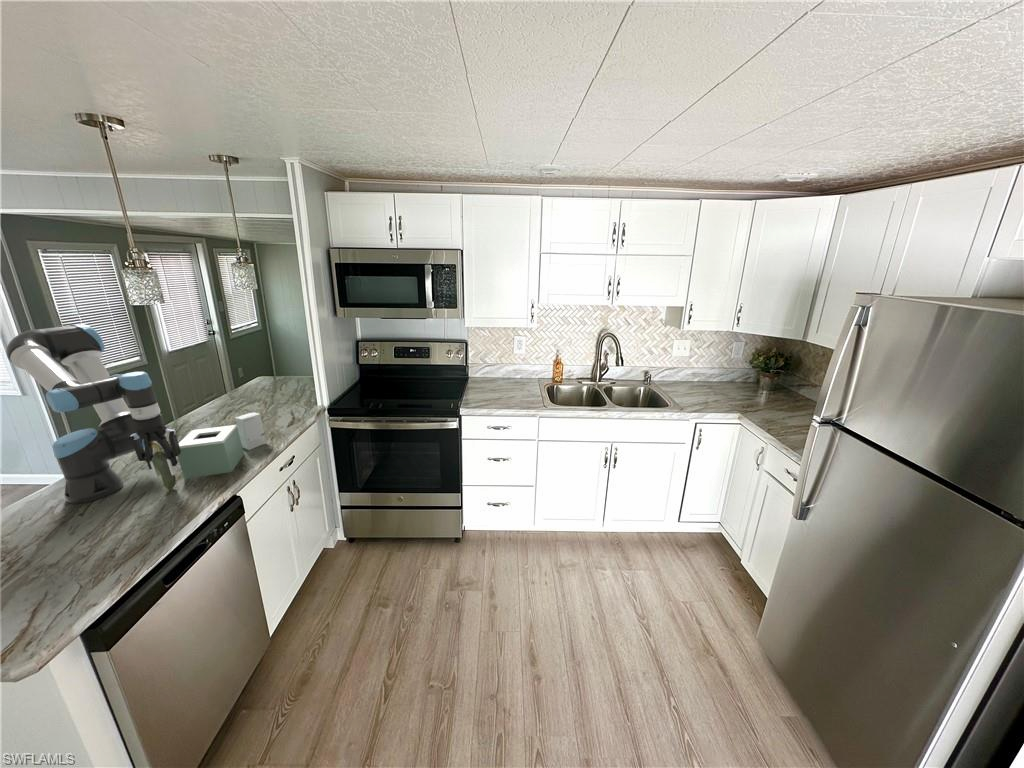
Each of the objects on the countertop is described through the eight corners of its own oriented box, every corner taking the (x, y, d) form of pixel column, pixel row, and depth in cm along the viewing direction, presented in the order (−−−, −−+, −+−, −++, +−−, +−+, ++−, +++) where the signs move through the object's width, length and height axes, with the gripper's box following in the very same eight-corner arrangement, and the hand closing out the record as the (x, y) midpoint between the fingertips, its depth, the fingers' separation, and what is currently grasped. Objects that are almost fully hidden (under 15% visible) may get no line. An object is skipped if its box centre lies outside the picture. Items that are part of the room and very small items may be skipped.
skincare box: (248, 450, 178) (241, 420, 174) (241, 447, 181) (233, 417, 176) (267, 443, 185) (260, 413, 180) (260, 440, 188) (253, 411, 183)
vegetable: (182, 486, 151) (166, 439, 145) (173, 493, 147) (157, 444, 141) (170, 487, 151) (154, 439, 145) (160, 493, 147) (144, 444, 140)
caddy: (184, 478, 156) (174, 446, 152) (201, 459, 171) (192, 430, 167) (231, 472, 161) (222, 440, 156) (244, 453, 175) (236, 424, 171)
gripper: (109, 423, 134) (131, 484, 141) (171, 416, 138) (189, 475, 146) (122, 415, 140) (143, 473, 148) (181, 409, 145) (198, 465, 153)
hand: (166, 474), depth 147 cm, fingers closed on vegetable, 4 cm apart
